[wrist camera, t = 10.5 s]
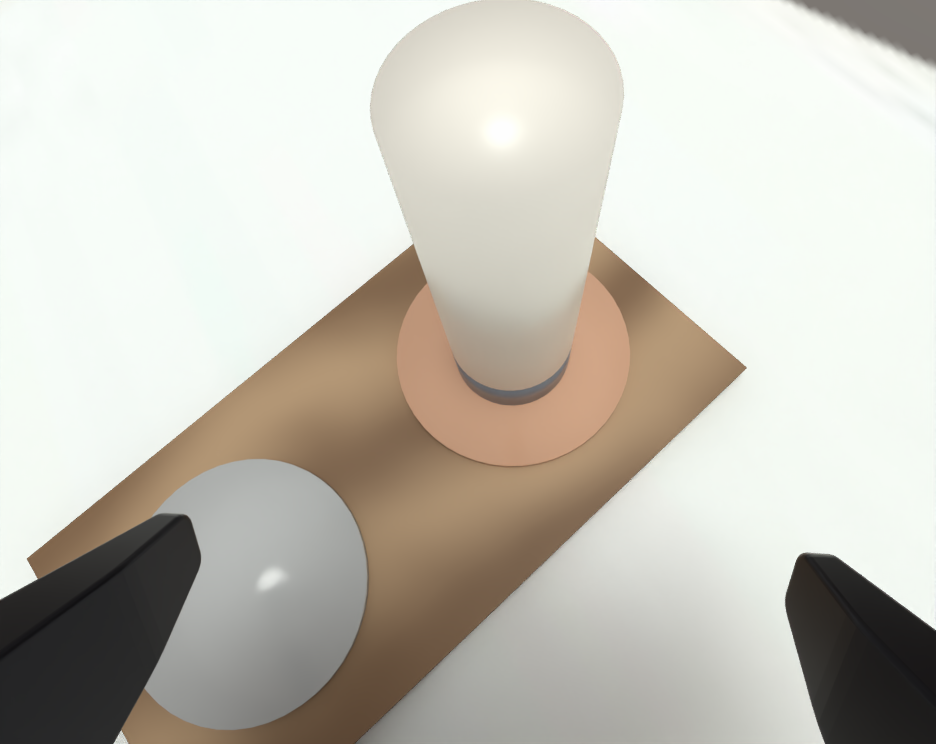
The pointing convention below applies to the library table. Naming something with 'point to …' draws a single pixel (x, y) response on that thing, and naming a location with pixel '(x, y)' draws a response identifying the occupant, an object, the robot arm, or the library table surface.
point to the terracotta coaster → (515, 426)
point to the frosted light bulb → (502, 178)
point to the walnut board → (410, 487)
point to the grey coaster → (261, 595)
